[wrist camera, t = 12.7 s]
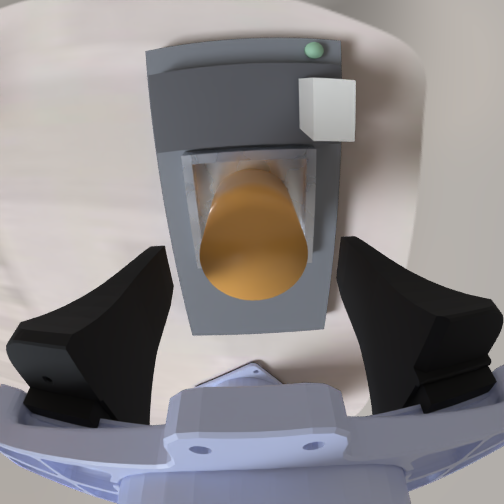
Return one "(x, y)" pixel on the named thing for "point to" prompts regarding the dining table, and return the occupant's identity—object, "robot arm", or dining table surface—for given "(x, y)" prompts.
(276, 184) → the cap
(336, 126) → the lever
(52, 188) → the dining table surface
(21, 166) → the dining table surface
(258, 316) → the breaker panel
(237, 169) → the frame
